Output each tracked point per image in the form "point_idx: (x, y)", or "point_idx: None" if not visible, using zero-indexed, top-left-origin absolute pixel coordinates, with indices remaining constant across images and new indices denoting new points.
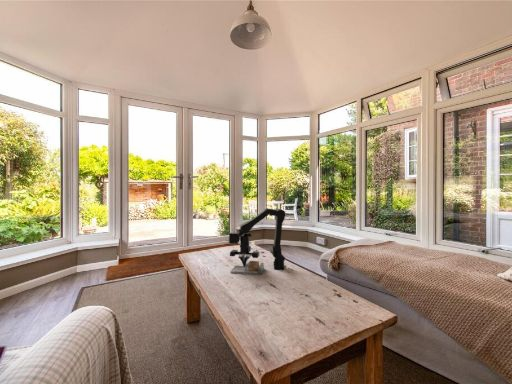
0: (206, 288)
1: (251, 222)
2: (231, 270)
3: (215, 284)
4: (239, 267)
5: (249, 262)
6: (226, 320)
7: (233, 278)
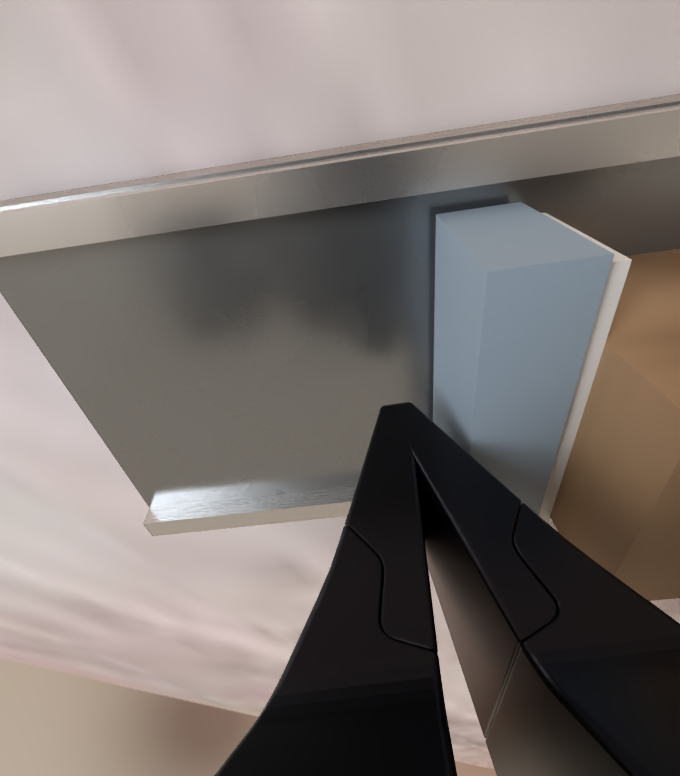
0: (209, 701)
1: None
2: (170, 532)
3: (226, 669)
4: (181, 292)
5: (644, 569)
6: (473, 763)
7: (320, 582)
